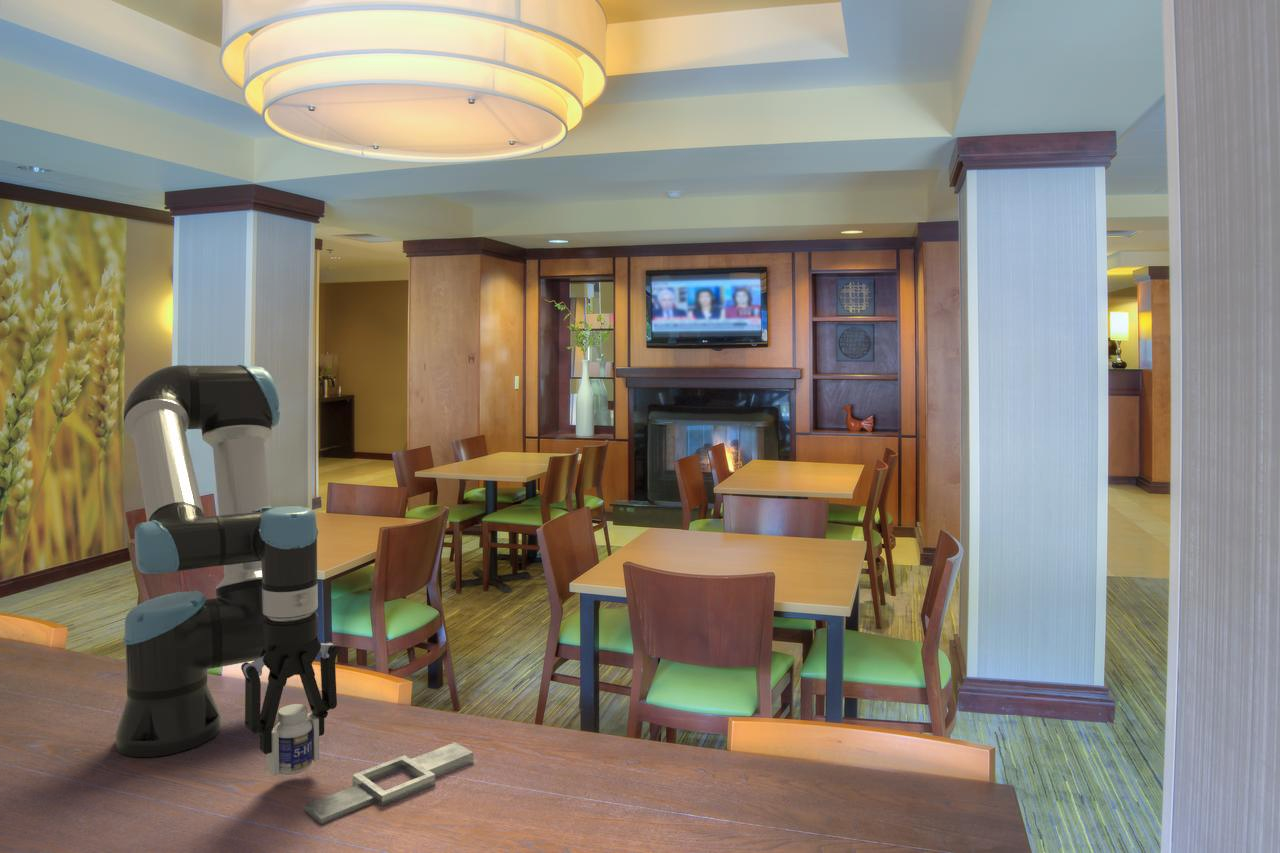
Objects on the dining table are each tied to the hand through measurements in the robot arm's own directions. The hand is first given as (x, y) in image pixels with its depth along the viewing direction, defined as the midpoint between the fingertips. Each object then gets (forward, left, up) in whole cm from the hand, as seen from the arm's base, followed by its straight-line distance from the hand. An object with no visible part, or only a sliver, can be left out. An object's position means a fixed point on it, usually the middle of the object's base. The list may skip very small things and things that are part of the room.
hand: (293, 764), depth 122 cm
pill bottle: (0, 0, -1) cm, 1 cm away
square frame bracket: (+12, +10, -3) cm, 16 cm away
